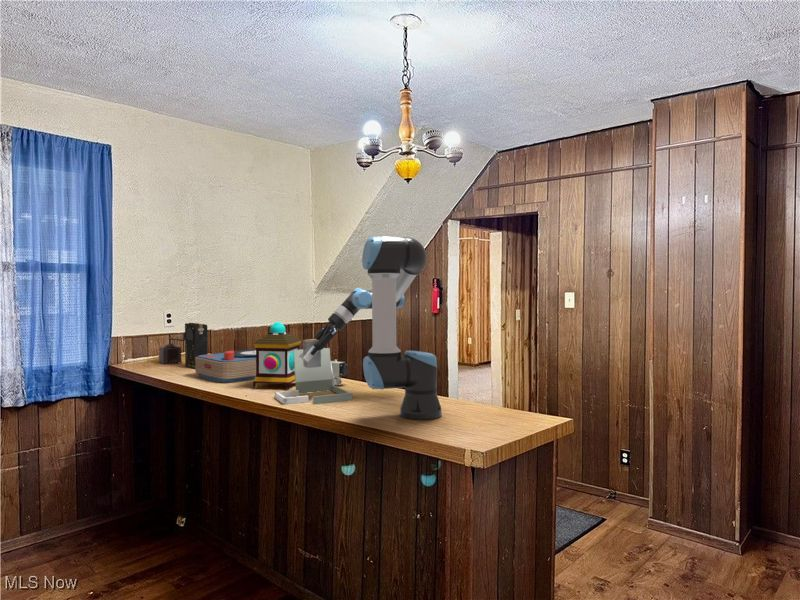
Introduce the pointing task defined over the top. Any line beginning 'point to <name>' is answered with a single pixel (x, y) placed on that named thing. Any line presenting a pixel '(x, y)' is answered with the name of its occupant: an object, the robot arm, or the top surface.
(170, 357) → the dark handled box
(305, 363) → the block
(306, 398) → the dock
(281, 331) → the decorative lantern
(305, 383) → the case
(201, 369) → the record player
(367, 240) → the robot arm
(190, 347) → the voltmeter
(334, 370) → the pneumatic valve
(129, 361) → the top surface
